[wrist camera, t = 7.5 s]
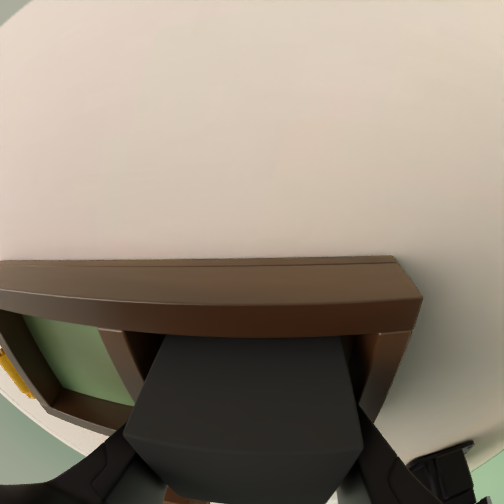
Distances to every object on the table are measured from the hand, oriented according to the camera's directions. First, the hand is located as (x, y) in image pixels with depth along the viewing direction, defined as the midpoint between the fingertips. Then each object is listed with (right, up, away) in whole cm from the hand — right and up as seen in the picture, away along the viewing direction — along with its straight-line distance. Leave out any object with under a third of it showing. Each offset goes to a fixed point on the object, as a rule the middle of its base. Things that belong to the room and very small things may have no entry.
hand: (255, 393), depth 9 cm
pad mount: (-4, +1, +2) cm, 4 cm away
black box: (0, 0, +1) cm, 1 cm away
